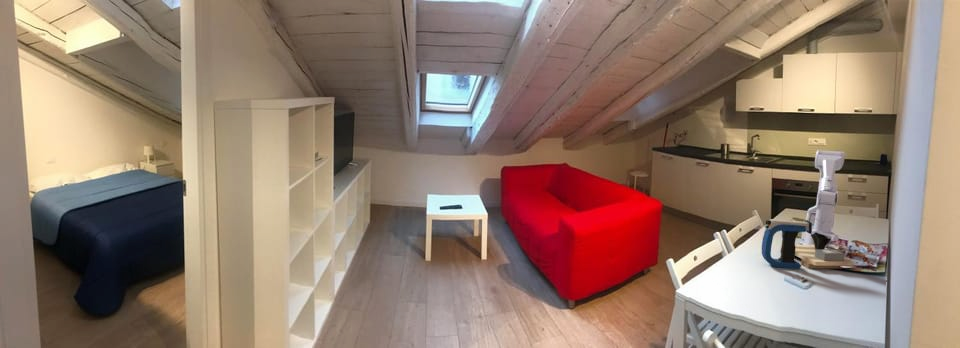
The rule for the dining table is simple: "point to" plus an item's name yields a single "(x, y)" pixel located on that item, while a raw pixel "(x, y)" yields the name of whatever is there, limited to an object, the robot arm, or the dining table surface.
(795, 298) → the dining table surface
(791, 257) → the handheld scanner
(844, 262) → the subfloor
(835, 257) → the block
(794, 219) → the mug
